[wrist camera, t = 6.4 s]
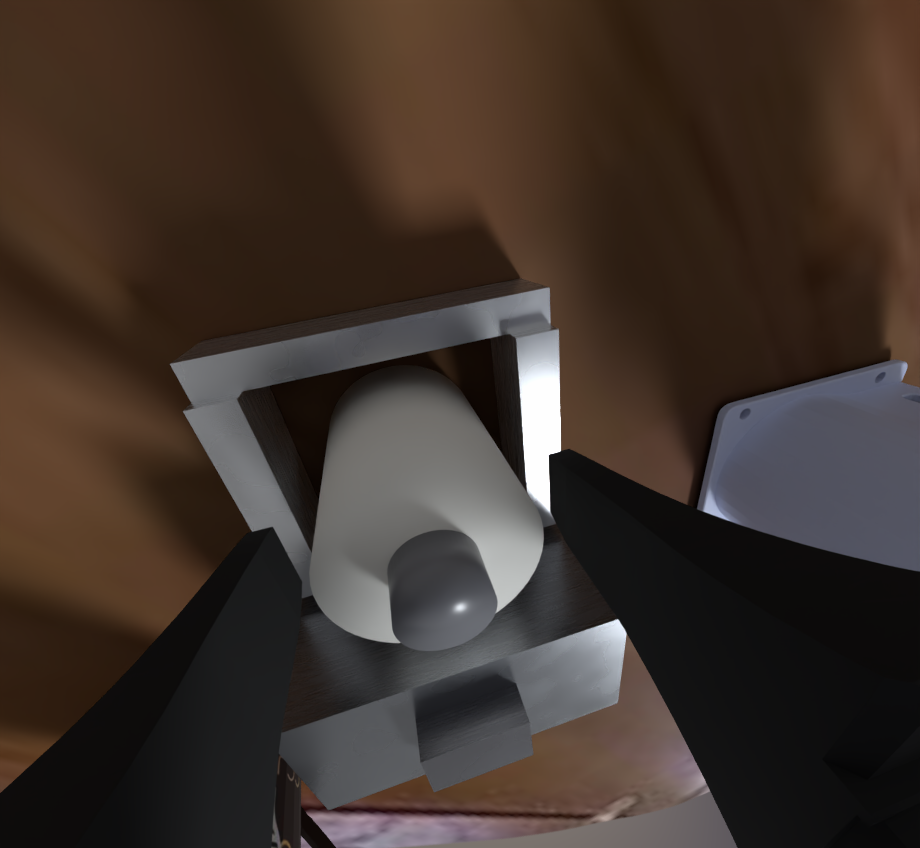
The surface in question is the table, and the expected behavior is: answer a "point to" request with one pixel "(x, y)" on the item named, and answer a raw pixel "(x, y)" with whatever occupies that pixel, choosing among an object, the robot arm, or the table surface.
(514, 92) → the table surface
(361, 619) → the white bottle
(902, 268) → the table surface
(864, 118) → the table surface
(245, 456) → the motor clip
